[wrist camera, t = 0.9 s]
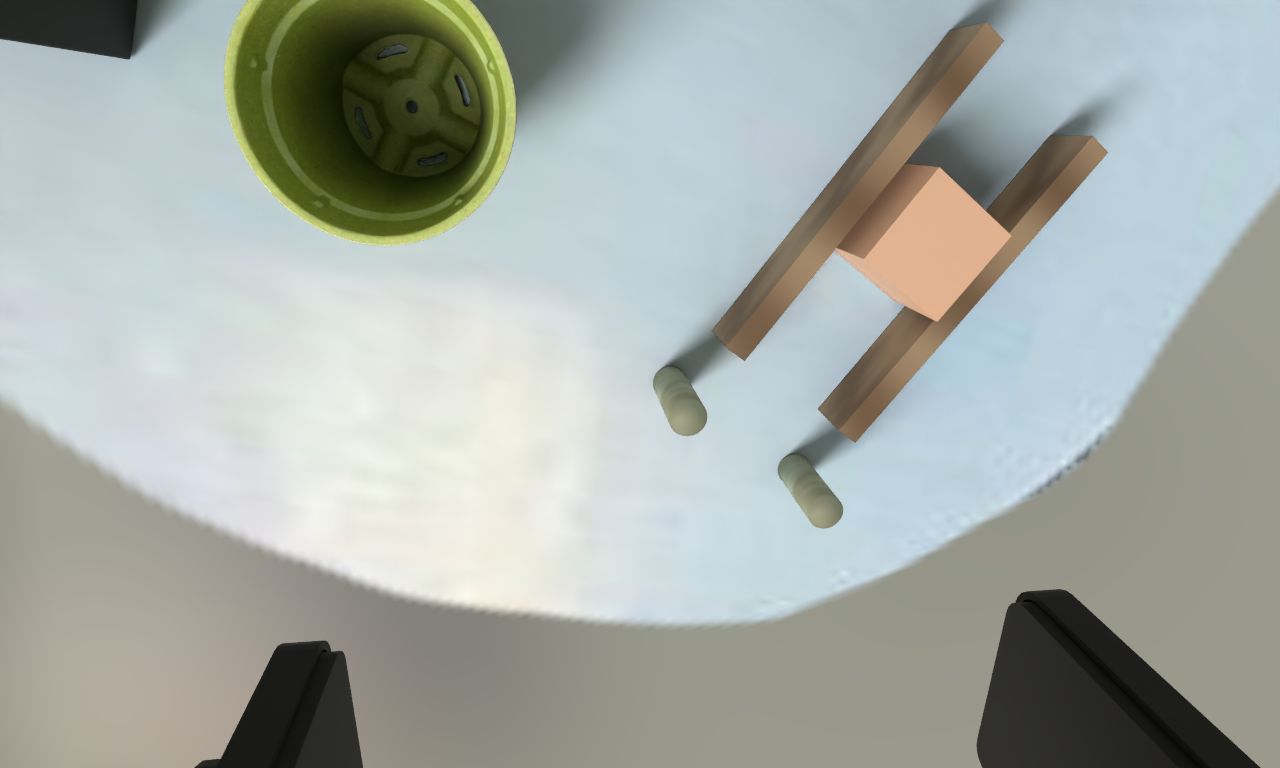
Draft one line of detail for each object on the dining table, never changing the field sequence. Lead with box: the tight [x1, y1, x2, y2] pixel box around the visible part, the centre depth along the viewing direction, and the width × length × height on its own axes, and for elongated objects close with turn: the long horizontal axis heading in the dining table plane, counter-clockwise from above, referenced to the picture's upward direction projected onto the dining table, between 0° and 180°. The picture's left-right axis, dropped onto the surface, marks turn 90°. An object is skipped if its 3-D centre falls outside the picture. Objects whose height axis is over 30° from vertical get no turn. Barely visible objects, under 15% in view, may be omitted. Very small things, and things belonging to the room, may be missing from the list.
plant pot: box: [224, 0, 517, 246], centre depth 29 cm, size 9×9×9 cm
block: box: [835, 163, 1011, 322], centre depth 35 cm, size 5×5×4 cm
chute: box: [653, 22, 1108, 528], centre depth 36 cm, size 22×11×5 cm, turn 142°
